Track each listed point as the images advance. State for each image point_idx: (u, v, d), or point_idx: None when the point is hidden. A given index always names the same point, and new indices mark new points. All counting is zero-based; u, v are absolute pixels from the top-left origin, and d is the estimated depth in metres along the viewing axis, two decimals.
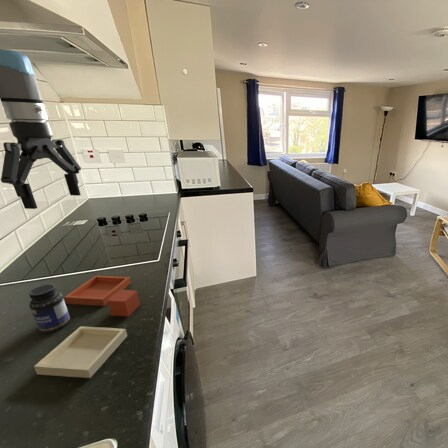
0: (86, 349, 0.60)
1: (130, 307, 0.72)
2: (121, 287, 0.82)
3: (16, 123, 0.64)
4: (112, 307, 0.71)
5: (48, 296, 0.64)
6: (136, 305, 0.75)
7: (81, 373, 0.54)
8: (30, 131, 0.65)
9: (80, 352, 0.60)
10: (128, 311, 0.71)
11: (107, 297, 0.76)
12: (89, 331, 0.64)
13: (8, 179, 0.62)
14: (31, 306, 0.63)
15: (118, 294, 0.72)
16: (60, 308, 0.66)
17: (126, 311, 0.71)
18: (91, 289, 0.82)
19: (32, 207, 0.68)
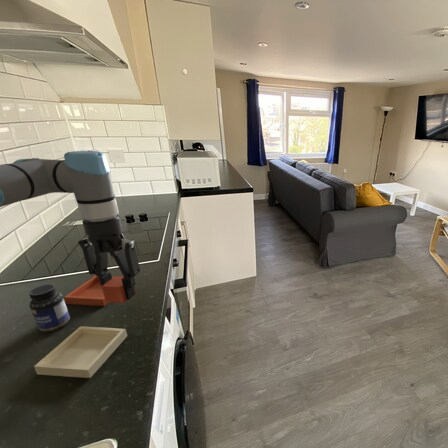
0: (86, 349, 0.60)
1: None
2: None
3: (116, 219, 0.64)
4: (107, 293, 0.69)
5: (48, 296, 0.64)
6: None
7: (81, 373, 0.54)
8: None
9: (80, 352, 0.60)
10: (123, 297, 0.70)
11: None
12: (89, 331, 0.64)
13: (138, 271, 0.70)
14: (31, 306, 0.63)
15: (113, 280, 0.71)
16: (60, 308, 0.66)
17: (121, 298, 0.69)
18: (91, 289, 0.82)
19: (134, 293, 0.73)
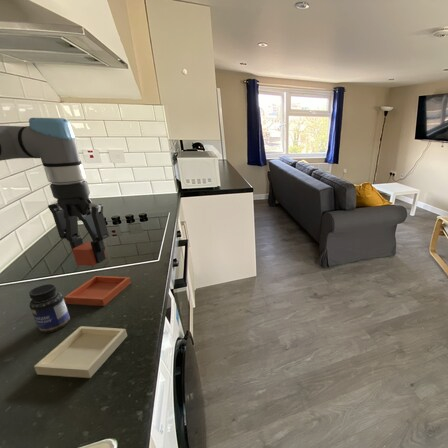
0: (86, 349, 0.60)
1: None
2: (121, 287, 0.82)
3: (83, 183, 0.68)
4: (77, 256, 0.73)
5: (48, 296, 0.64)
6: None
7: (81, 373, 0.54)
8: (88, 188, 0.71)
9: (80, 352, 0.60)
10: (93, 260, 0.74)
11: (107, 297, 0.76)
12: (89, 331, 0.64)
13: (107, 235, 0.74)
14: (31, 306, 0.63)
15: (84, 245, 0.75)
16: (60, 308, 0.66)
17: (91, 261, 0.73)
18: (91, 289, 0.82)
19: (104, 258, 0.77)
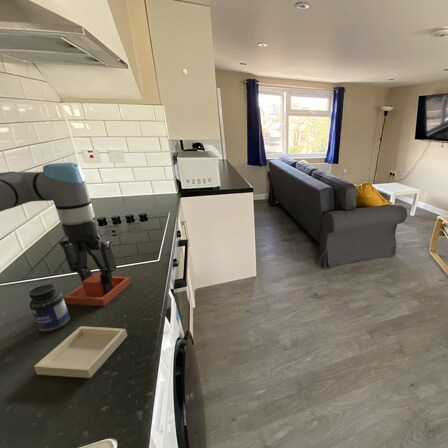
0: (86, 349, 0.60)
1: None
2: (121, 287, 0.82)
3: (92, 222, 0.73)
4: (87, 288, 0.78)
5: (48, 296, 0.64)
6: None
7: (81, 373, 0.54)
8: (97, 225, 0.75)
9: (80, 352, 0.60)
10: (102, 292, 0.78)
11: (107, 297, 0.76)
12: (89, 331, 0.64)
13: (114, 268, 0.78)
14: (31, 306, 0.63)
15: (93, 276, 0.79)
16: (60, 308, 0.66)
17: (99, 292, 0.78)
18: None
19: (112, 288, 0.81)
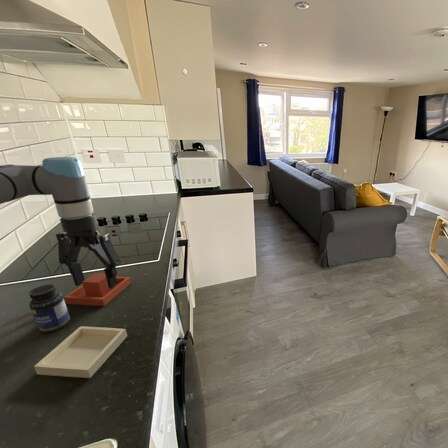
0: (86, 349, 0.60)
1: (104, 288, 0.79)
2: (121, 287, 0.82)
3: (91, 217, 0.72)
4: (87, 288, 0.78)
5: (48, 296, 0.64)
6: None
7: (81, 373, 0.54)
8: None
9: (80, 352, 0.60)
10: (102, 292, 0.78)
11: (107, 297, 0.76)
12: (89, 331, 0.64)
13: (119, 261, 0.77)
14: (31, 306, 0.63)
15: (93, 276, 0.79)
16: (60, 308, 0.66)
17: (99, 292, 0.78)
18: None
19: (116, 282, 0.80)
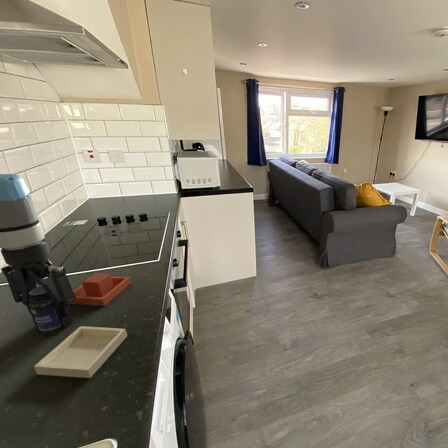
0: (86, 349, 0.60)
1: (104, 288, 0.79)
2: (121, 287, 0.82)
3: (40, 245, 0.60)
4: (87, 288, 0.78)
5: (48, 296, 0.64)
6: (110, 287, 0.81)
7: (81, 373, 0.54)
8: (48, 248, 0.63)
9: (80, 352, 0.60)
10: (102, 292, 0.78)
11: (107, 297, 0.76)
12: (89, 331, 0.64)
13: (73, 298, 0.65)
14: (31, 306, 0.63)
15: (93, 276, 0.79)
16: None
17: (99, 292, 0.78)
18: None
19: (72, 321, 0.68)
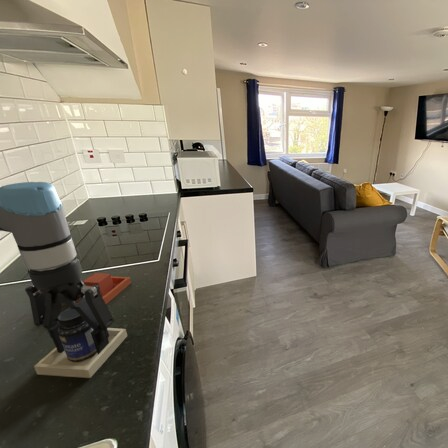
0: None
1: (104, 288, 0.79)
2: (121, 287, 0.82)
3: (73, 264, 0.52)
4: None
5: (79, 320, 0.55)
6: (110, 287, 0.81)
7: (81, 373, 0.54)
8: (80, 266, 0.54)
9: None
10: (102, 292, 0.78)
11: (107, 297, 0.76)
12: None
13: (111, 321, 0.57)
14: (60, 333, 0.54)
15: (93, 276, 0.79)
16: None
17: None
18: None
19: None
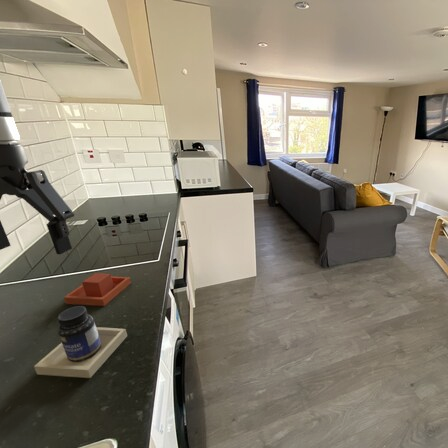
0: None
1: (104, 288, 0.79)
2: (121, 287, 0.82)
3: (14, 146, 0.47)
4: (87, 288, 0.78)
5: (79, 320, 0.55)
6: (110, 287, 0.81)
7: (81, 373, 0.54)
8: None
9: None
10: (102, 292, 0.78)
11: (107, 297, 0.76)
12: None
13: (70, 213, 0.51)
14: (60, 333, 0.54)
15: (93, 276, 0.79)
16: (91, 334, 0.57)
17: (99, 292, 0.78)
18: None
19: (69, 247, 0.54)
